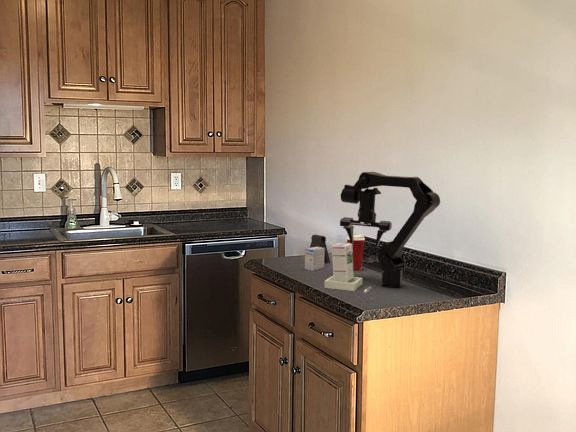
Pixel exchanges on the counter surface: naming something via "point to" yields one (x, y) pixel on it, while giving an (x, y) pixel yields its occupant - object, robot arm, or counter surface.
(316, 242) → the phone stand
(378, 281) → the counter surface
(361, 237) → the paper cup
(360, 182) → the robot arm
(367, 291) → the rod
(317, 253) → the medicine box
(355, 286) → the tray
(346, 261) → the syrup box
